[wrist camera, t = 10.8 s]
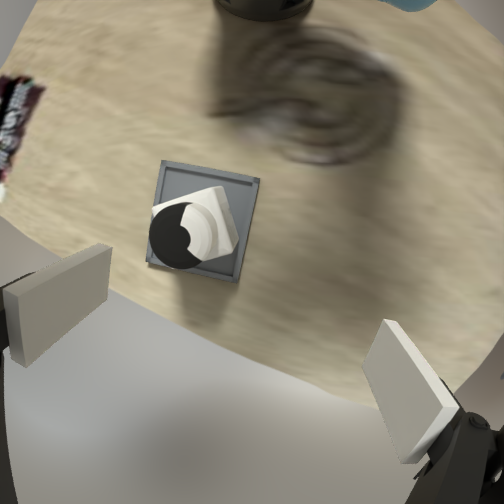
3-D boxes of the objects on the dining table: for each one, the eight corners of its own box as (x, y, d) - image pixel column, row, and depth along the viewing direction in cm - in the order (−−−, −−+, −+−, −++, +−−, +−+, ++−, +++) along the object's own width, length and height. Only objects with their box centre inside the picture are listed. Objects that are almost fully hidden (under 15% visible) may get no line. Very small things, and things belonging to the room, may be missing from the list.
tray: (164, 160, 41) (161, 159, 40) (260, 178, 41) (259, 178, 40) (148, 259, 45) (145, 261, 43) (237, 280, 45) (237, 283, 43)
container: (187, 255, 43) (155, 285, 31) (170, 202, 42) (130, 212, 29) (240, 240, 43) (227, 266, 30) (223, 185, 41) (202, 187, 28)
